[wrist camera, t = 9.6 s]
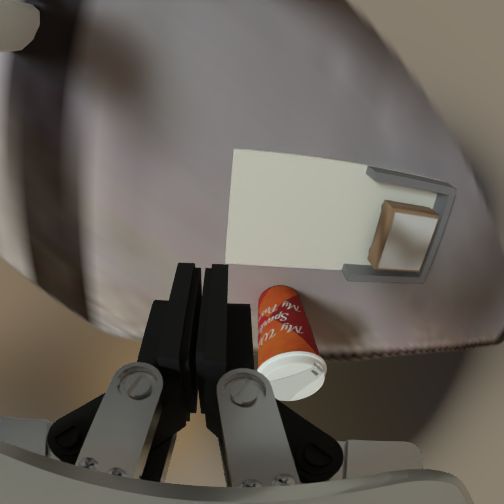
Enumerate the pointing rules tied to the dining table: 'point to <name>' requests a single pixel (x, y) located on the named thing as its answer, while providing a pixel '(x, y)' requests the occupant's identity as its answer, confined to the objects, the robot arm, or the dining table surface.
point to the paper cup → (287, 346)
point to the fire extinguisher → (17, 25)
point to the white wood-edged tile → (402, 236)
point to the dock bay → (322, 212)
